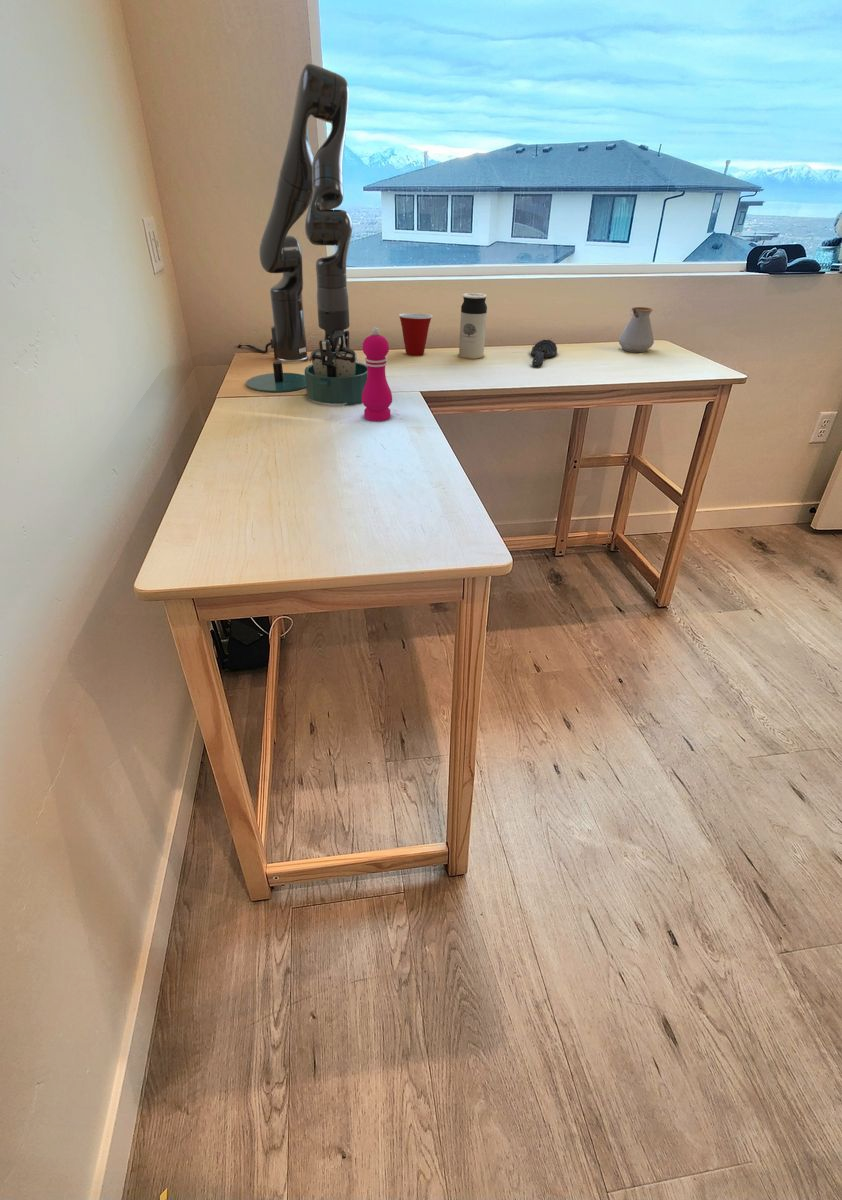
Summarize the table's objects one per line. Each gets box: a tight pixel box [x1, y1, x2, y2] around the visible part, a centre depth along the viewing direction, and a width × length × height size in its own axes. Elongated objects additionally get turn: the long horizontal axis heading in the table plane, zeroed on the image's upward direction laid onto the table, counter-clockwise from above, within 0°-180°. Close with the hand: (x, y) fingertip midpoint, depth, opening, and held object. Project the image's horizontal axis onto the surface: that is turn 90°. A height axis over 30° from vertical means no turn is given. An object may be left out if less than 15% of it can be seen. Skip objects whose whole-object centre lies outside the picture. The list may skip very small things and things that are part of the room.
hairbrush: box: [530, 337, 558, 368], centre depth 197 cm, size 8×4×25 cm
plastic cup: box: [398, 313, 433, 357], centre depth 197 cm, size 11×11×12 cm
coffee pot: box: [618, 306, 655, 353], centre depth 202 cm, size 21×12×15 cm, turn 152°
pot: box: [304, 361, 368, 407], centre depth 159 cm, size 17×22×7 cm
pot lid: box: [245, 361, 306, 393], centre depth 167 cm, size 18×18×6 cm
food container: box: [309, 347, 359, 377], centre depth 158 cm, size 12×6×10 cm, turn 83°
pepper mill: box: [361, 327, 393, 422], centre depth 142 cm, size 7×7×20 cm
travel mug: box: [458, 292, 488, 360], centre depth 194 cm, size 8×8×18 cm
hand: (336, 378), depth 159 cm, fingers closed on food container, 5 cm apart
